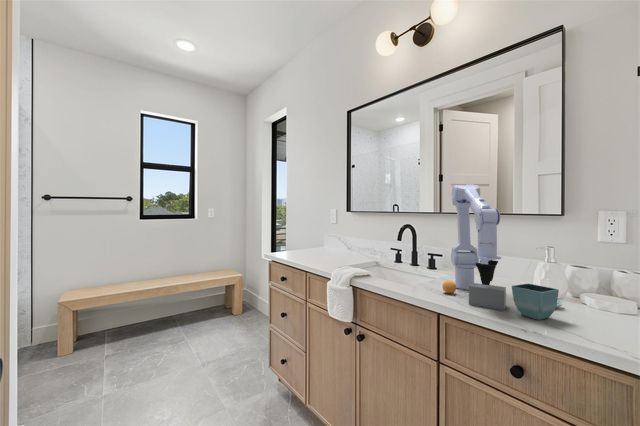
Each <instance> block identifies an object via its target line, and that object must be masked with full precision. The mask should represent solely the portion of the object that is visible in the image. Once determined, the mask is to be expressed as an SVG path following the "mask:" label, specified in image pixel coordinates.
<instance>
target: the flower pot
mask: <svg viewBox="0 0 640 426" xmlns="http://www.w3.org/2000/svg"><path fill="white" fill-rule="evenodd" d="M511 291H512V292H511V293H512V297H513V302H514V305H515V307H516V309H517V311H518V312H519V313H520V315H521V316H525V317H527V318H531V319H535V320H537V321H541V320H545V319H549V318H550V317H551V316H552V314H553V313H554V312H555V310H556V308H557V307H556V305H558V304H557V300H558V298H559V297H558V296H559V292H560V291H559V288H553V287H548V286H545V285H543V286H542V285H537V284H533V283H523V284H521V283H520V284H517V285H516V284H515V285H511Z"/></svg>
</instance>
